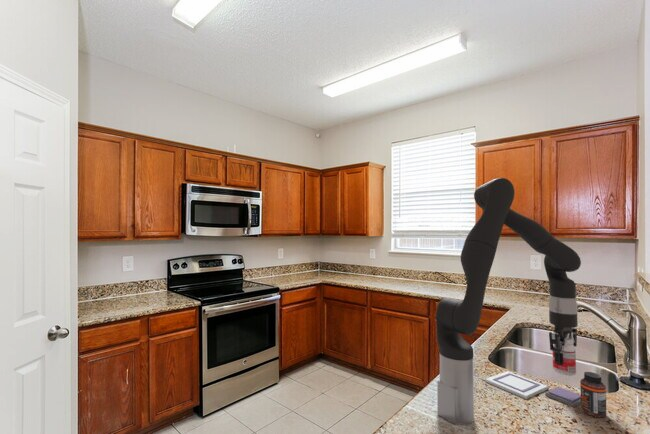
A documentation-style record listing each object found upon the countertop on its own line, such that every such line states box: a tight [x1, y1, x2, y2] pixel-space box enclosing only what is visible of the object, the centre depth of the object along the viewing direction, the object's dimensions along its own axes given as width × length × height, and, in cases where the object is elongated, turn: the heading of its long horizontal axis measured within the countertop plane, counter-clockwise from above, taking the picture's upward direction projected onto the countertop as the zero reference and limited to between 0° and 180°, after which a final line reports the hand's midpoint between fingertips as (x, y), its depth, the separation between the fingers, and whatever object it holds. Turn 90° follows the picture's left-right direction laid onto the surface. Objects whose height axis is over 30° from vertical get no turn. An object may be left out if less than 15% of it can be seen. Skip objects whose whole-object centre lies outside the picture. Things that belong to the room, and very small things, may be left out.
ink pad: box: [545, 386, 581, 408], centre depth 105 cm, size 8×8×2 cm
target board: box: [484, 370, 549, 400], centre depth 114 cm, size 14×14×1 cm
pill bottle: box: [552, 338, 577, 377], centre depth 106 cm, size 6×6×11 cm
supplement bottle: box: [579, 371, 607, 419], centre depth 97 cm, size 6×6×11 cm
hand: (564, 362), depth 106 cm, fingers closed on pill bottle, 6 cm apart
